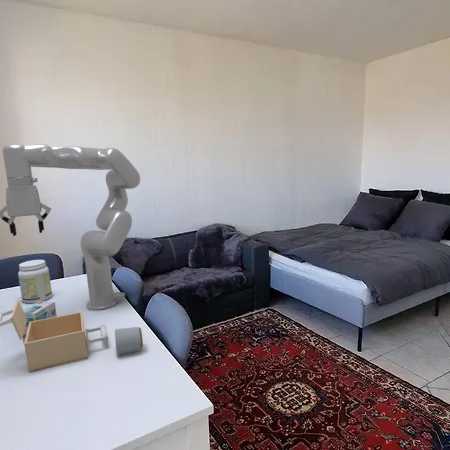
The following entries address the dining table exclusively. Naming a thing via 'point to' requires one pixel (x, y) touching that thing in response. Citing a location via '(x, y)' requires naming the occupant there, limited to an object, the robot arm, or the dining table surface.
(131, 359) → the dining table surface
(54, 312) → the light bulb box
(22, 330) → the flap
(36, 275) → the supplement tub
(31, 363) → the carton
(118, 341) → the ceramic mug
